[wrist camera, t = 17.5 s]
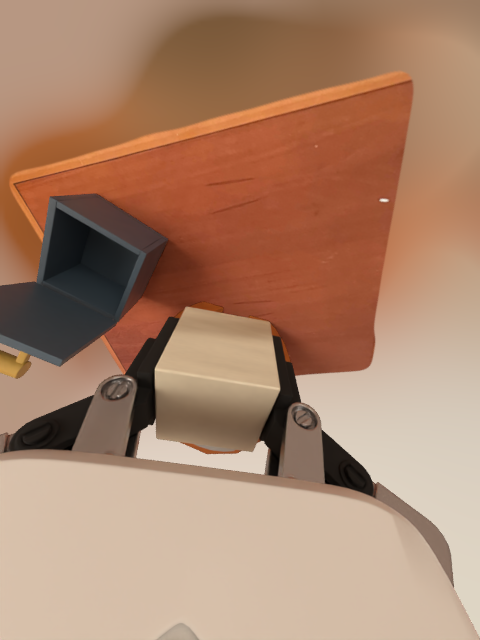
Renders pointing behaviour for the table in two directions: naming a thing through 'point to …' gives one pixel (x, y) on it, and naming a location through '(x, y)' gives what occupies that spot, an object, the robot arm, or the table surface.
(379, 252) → the table surface
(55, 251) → the chest
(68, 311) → the lid
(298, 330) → the table surface
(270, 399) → the block
